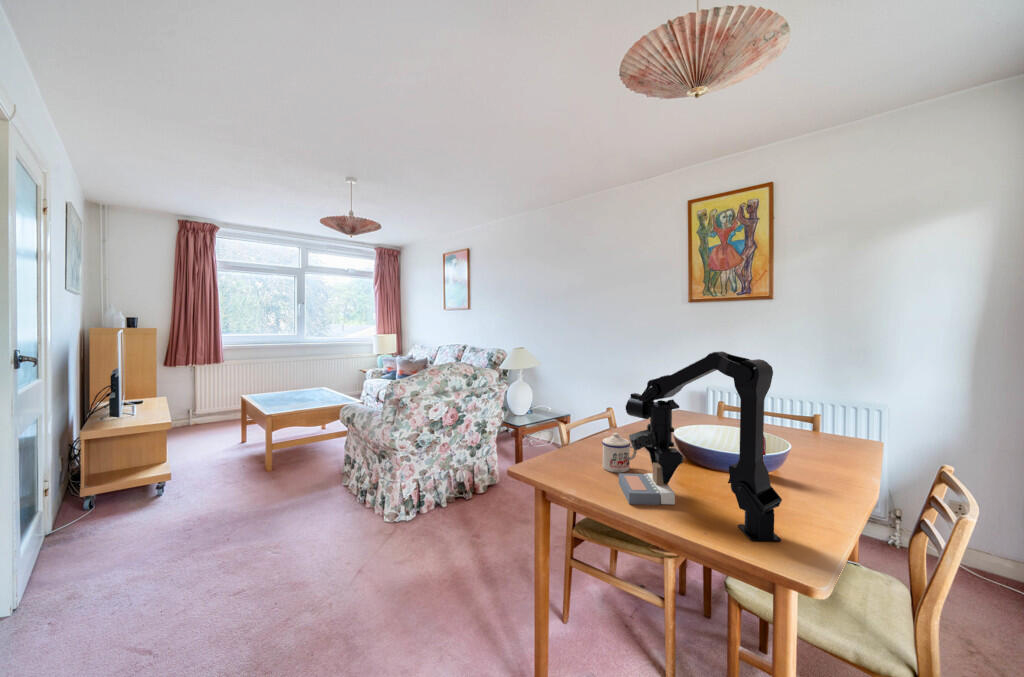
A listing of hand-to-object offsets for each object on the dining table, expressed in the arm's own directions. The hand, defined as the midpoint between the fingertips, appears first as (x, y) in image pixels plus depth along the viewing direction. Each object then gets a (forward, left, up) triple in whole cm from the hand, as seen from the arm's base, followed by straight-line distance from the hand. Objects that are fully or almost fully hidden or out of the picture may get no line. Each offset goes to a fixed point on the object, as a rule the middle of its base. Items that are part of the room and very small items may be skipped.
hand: (660, 477), depth 115 cm
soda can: (+17, -34, -5) cm, 38 cm away
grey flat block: (0, +6, -5) cm, 8 cm away
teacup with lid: (+20, +7, -5) cm, 22 cm away
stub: (0, 0, -5) cm, 5 cm away
